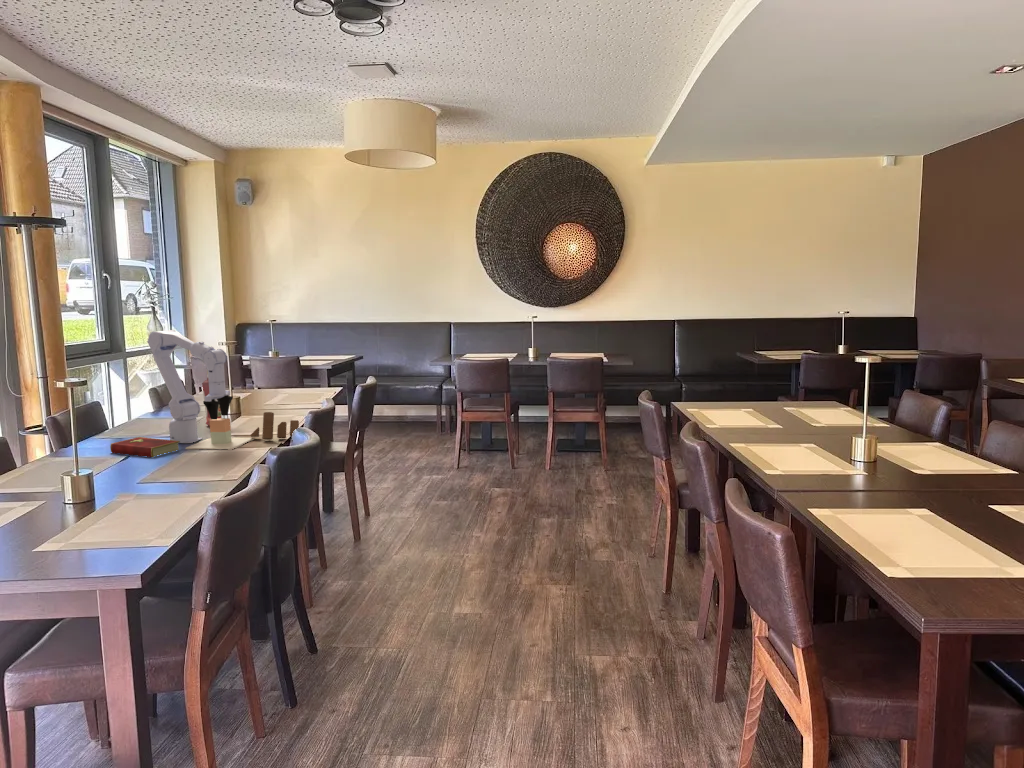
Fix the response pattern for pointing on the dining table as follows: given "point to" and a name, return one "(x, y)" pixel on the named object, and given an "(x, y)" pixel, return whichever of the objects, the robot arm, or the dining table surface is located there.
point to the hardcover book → (144, 446)
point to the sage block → (221, 437)
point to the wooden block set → (268, 427)
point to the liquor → (205, 393)
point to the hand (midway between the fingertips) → (219, 417)
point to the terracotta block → (220, 425)
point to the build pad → (231, 445)
